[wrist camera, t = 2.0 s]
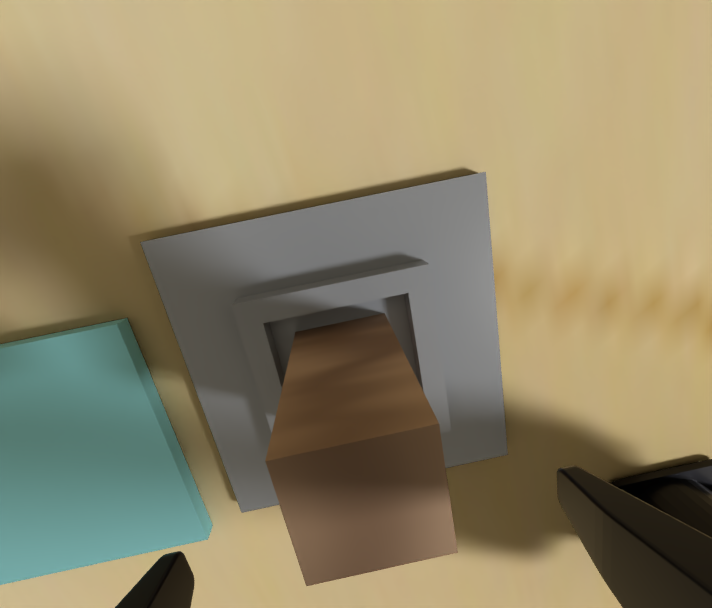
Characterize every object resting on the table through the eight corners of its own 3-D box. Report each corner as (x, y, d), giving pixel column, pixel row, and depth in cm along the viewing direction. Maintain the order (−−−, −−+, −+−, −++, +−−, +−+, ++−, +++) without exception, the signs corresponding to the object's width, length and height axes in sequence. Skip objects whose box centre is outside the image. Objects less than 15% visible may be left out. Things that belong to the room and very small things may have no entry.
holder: (479, 172, 15) (497, 170, 13) (502, 446, 19) (517, 468, 18) (147, 240, 15) (126, 245, 13) (244, 503, 19) (236, 530, 17)
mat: (127, 318, 15) (116, 324, 15) (212, 525, 19) (207, 539, 18) (-151, 375, 15) (-176, 385, 14) (-12, 574, 19) (-26, 590, 18)
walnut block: (384, 313, 16) (439, 423, 8) (398, 391, 17) (457, 552, 9) (295, 332, 16) (265, 461, 8) (315, 409, 17) (306, 586, 9)
